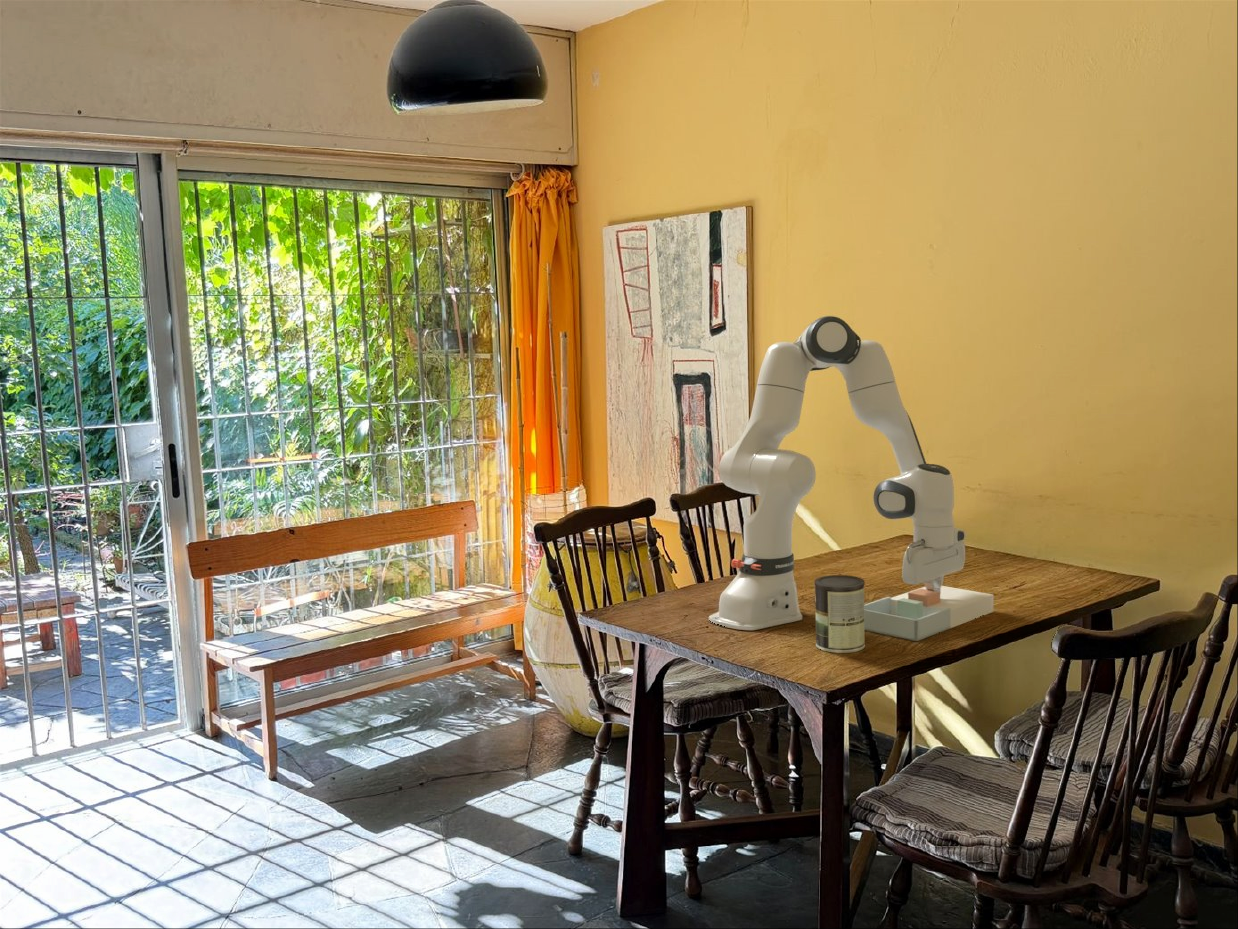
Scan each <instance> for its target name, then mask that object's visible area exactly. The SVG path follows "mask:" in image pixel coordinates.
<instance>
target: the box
mask: <svg viewBox="0 0 1238 929" xmlns="http://www.w3.org/2000/svg"><path fill="white" fill-rule="evenodd" d="M891 598H892V597H891V596H886V597H883V598H880V599H877V600H874V601H871V602H869V603H864V631H867V632H872V633H877V634H881V635H886V636H890V637H896V638H900V639H904V640H908V641H913V642H919V641H921V640H924V639H926V638H930V637H932V636H934V635H936V634H939V632H940V633H942V632H945V631H947V630H950V629H951V628H950V608H946V609H943V610H941V611H938V612H935V613H932V614H930V615H927V616H924V617H921V618H919V619H916V620H915V619H910V618H905V617H900V616H897V615H893V614H891Z"/></svg>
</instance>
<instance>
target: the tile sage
mask: <svg viewBox="0 0 1238 929" xmlns="http://www.w3.org/2000/svg"><path fill="white" fill-rule="evenodd" d="M897 616H900V617H905V618H910V619H915V620H916V619H919V618H921V617H923V602H921V601H916V600H911V599H905V598H902V599H900V600H897Z"/></svg>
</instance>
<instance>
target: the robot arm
mask: <svg viewBox="0 0 1238 929" xmlns="http://www.w3.org/2000/svg"><path fill="white" fill-rule="evenodd" d="M832 367H834V368H836V369H837V370H838V371H839V372H840V373H841V374H842V376H843V379H844V381H845V386H846V389H847V394H848V399H849V403H850V406H851V409H852V411H853V413H854V415H855V417H856V419H857V420H858V421H859V422H860V423H862V424H863V425H865V426H867V427H869V428H872V429H875V430H876V431H878V432H879V433H881V434H883V435H884V437H886V439H888V442H889V443H890V445H891V448H892V450H893V454H894V457H895V460H896V463H897V466H898V469H899V471H900V475H896V476H893V477H889V478H887V479H884V480H882V481H881V482H879V483H878V484H877V485H876V486H875V488H874V491H873V504H874V507H875V509H876V510H877V512H878V513H879V515H881V516H882V517H884V518H885V519H888V520H901V519H906V518H909V519H912V522H913V524H912V525H913V529H912V530H913V532H912V533H913V541H912V542H910V543H909V545H908V547H907V548H906V551H905V552H904V554H903V560H902V570H901V571H902V572H901V574H902V575H901V579H902V581H903V582H904V583H905V584H910V585H919V584H923V585H924V587H926V589H927V590H932V591H938V592H940V594H941V586H943V583H944V581H945V576H946V575H949V574H953V573H956V572H959V571H962V570H963V568H964V566H965V561H966V545H965V540H966V539H967V531H965V530H963V529H959V528H956V527H955V520H954V518H953V517H954V516H953V510H954V506H955V490H954V480H953V476H952V473H951V472H950V470H949V469H948V468H946V467H945V466H943V465H940V464H935V463H934V464H933V463H927V462H926V459H925V456H924V452H923V450H922V447H921V444H920V441H919V439H918V435H917V432H916V430H915V427H914V424H913V422H912V420H911V417H910V415H909V413H908V412H907V410H906V408H905V406H904V404H903V402H902V399H901V396H900V392H899V390H898V386H897V382H896V378H895V375H894V371H893V368H892V365H891V362H890V359H889V357H888V355H887V353H886V351H885V349H884V347H883V346H882V344H881V343H879V342H878V341H876V340H869V339H864V340H862V339H861V337H860V335H858V334H857V333H856V332H855V331H854V330H853V328H852V327H851V326H850V325H849V324H848V323H847V322H846V321H845V320H843V319H842V318H840V317H837V316H834V315H827V316H821V317H819V318H817V319H815V320H814V321H813V322H811V323H810V324H808V325H807V326H806V327H805V329H804V330H803V331H802V333H801V334H800V335H799V336H798V338H797V339H796V340H795V341H793V342H790V341H778V342H775V343H773V344H771V345H770V346H768V348H767V350H766V351H765V354H764V357H763V360H762V363H761V366H760V369H759V375H758V378H757V383H756V387H755V394H754V398H753V403H752V409H751V413H750V416H749V417H750V418H749V419H748V422H747V424H746V427H745V429H744V431H743V432H742V434H741V435H740V438H738V440H737V442H736V443H735V444H734V445H733V446H732V447H731V448H728V449H727V451H725V453H723V455H722V456H721V458H720V461H719V466H718V472H719V473H718V474H719V478H720V480H721V482H722V483H723V484H724V485H725V486H726V487H728V488H730V489H732V490H734V491H737V492H740V493H742V494H743V493H745V494H750V495H758V496H759V497H758V498H759V499H758V503H757V508H756V509H755V511H754V512H752V513H751V514H750V515H748V516H747V517H746V518H745V519H744V522H743V554H742V556H741V559H737V558H733V559H732V560H731V562H730V565H731V567H732V568H735V569H736V568H737V569H738V571H739V572H738V573H737V575H736V576H735V577H734V578H733V580H731V582H730V583H729V584H728V586H727V587H726V588H725V589H724V590H723V591H722V593H721V594H720V597H719V600H718V601H719V602H718V611H717V612H714V613H712V614H710V615H708V621H709V620H710V621H711V622H710V621H709V622H710V623H712V622H713V623H712V624H714V623H715V624H714V625H717V624H719V625H718V626H720V625H722V626H721V627H724V626H725V627H724V628H729V629H733V630H739V631H740V630H743V631H756V630H761V629H762V630H763V629H766V628H769V627H770V628H772V627H775V626H780V625H784V624H788V623H793V622H797V621H802V620H803V615H802V613H801V610H800V606H799V598H798V590H797V583H796V581H795V578H794V573H793V572H794V570H795V563H796V562H795V557H794V556H795V555H794V553H793V550H792V548H793V546H792V545H793V544H792V543H793V539H792V538H793V521H794V517H795V513H796V510H797V508H798V506H799V504H800V502H801V501H802V499H803V498H804V497H806V495H808V494H809V493H810V492H811V490H812V489H813V488H814V485H815V482H816V479H817V471H816V467H815V464H814V462H813V461H812V459H811V458H810V457H808V456H807V455H804V454H801V452H797V451H794V450H790V449H782V448H781V449H780V448H779V447H780V445H781V443H782V442H783V440H784V438H785V437H787V435H789V434H790V433H792V432H793V431H795V430H796V429H797V428H798V426H799V423H800V420H801V413H802V407H803V403H804V397H805V396H804V395H805V391H806V383H807V378H808V376H809V373H810V372H813V371H822V370H826V369H829V368H832Z"/></svg>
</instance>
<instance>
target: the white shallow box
mask: <svg viewBox="0 0 1238 929" xmlns="http://www.w3.org/2000/svg"><path fill="white" fill-rule="evenodd" d="M918 589H926V587H925V586H923V587H920V588H917V589H913V590H910V591H908V592H905V593H902V594H898V595H896V596H895V595H894V596H893V597H891V614H893V615H897V600H900V599H902V598H905V599H908V593H909V592H912V591H915V590H918ZM926 590H927V589H926ZM994 597H995V595H994V594H992V593H986V592H981V591H974V590H968V589H965V588H964V589H963V588H956V587H951V586H945V585H942V586H941V594H940V603H937V604H934V605H931V606H929V607H926V606H923V617H924V616H927V615H930V614H932V613H935V612H938V611H941V610H943V609H946V608H950V629H952V628H955V627H958V626H960V625H962V624H965V623H967V622H971V621H973V620H976V619H979V618H980V616H981V617H983V616H982V615H984V616H986V615H989V614H991V613H994V610H995V609H994V607H995V606H994V602H995V601H994ZM975 618H976V619H975Z"/></svg>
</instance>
